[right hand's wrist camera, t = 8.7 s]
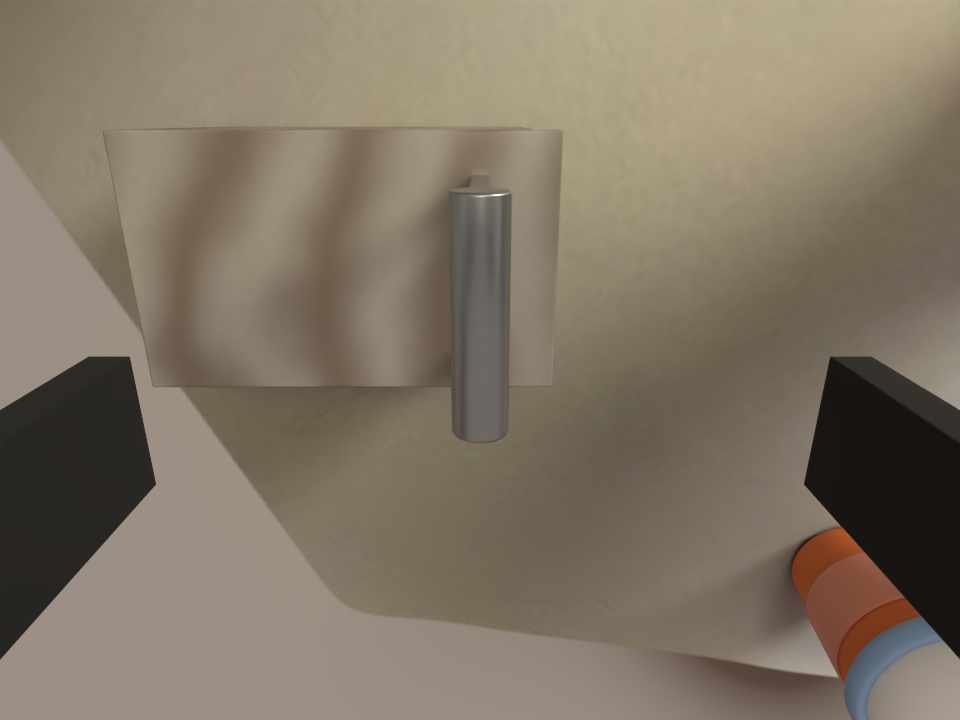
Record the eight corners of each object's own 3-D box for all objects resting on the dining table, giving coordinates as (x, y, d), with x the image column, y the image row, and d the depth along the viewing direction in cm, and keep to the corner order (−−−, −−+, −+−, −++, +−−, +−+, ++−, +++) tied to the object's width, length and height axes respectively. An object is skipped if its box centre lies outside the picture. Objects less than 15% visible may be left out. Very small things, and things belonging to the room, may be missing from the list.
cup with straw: (770, 625, 45) (942, 925, 28) (766, 519, 42) (957, 784, 25) (901, 606, 45) (1157, 901, 28) (908, 497, 42) (1200, 754, 25)
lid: (560, 129, 24) (601, 134, 16) (549, 379, 28) (579, 485, 20) (114, 129, 24) (-69, 134, 16) (162, 379, 28) (32, 485, 20)
